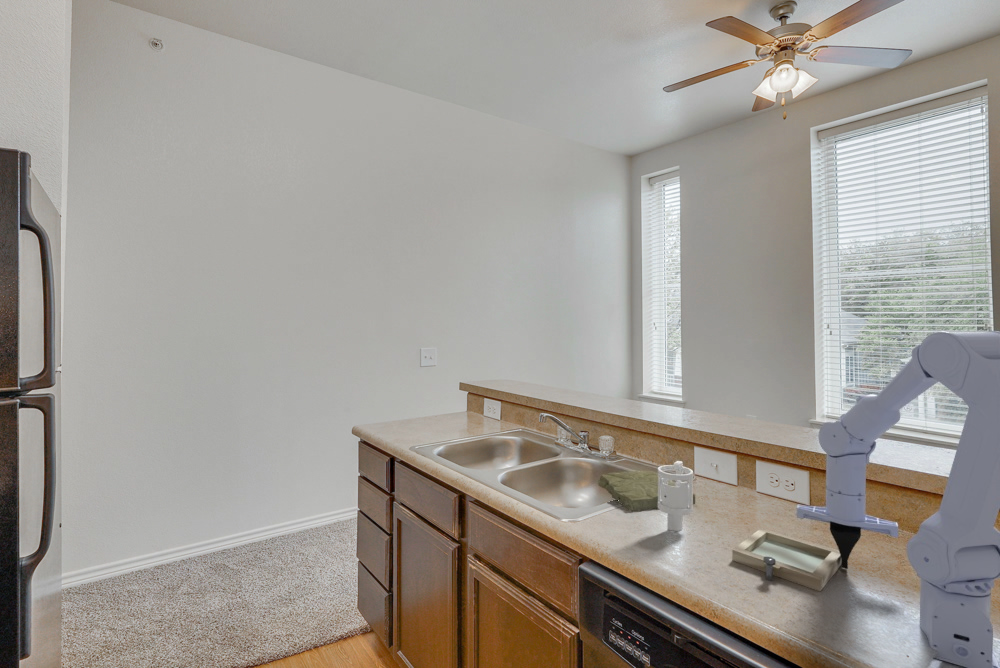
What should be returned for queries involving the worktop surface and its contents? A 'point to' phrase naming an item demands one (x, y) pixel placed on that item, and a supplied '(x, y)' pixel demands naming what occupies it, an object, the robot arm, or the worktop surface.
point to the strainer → (675, 494)
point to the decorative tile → (634, 488)
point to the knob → (769, 567)
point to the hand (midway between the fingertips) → (844, 566)
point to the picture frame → (789, 558)
